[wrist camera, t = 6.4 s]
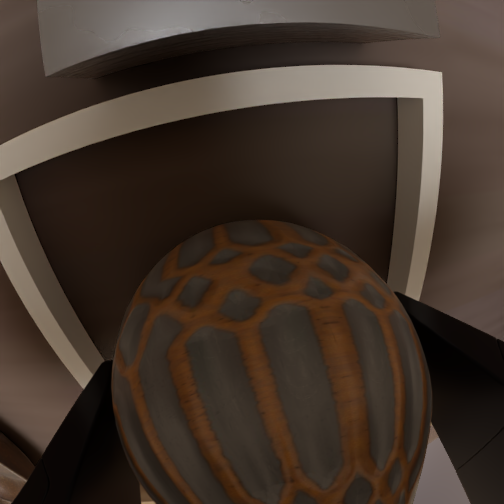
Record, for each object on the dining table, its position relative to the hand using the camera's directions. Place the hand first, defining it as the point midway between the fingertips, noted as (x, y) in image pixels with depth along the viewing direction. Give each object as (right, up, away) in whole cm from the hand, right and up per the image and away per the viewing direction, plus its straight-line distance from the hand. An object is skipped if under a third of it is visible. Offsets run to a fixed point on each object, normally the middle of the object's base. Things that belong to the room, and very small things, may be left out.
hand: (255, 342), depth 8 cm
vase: (0, +1, +2) cm, 2 cm away
